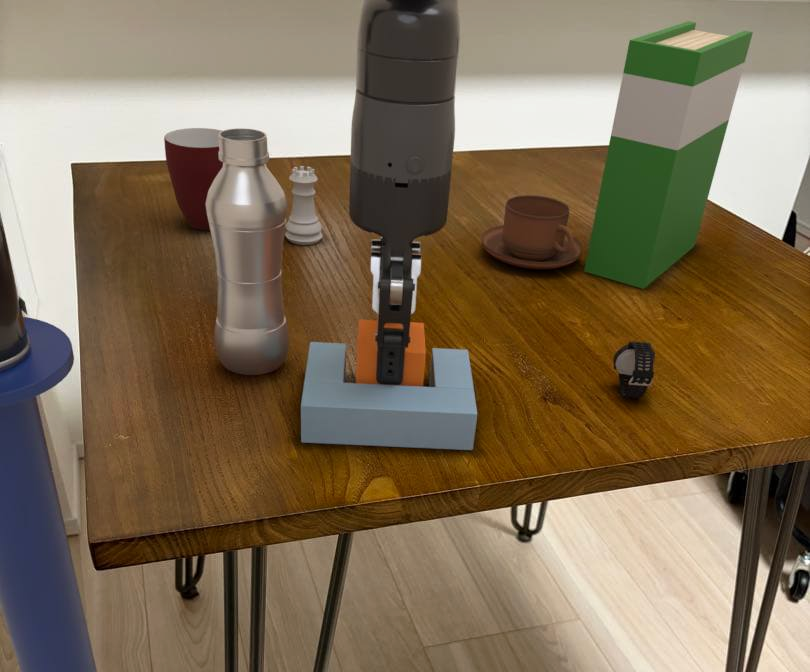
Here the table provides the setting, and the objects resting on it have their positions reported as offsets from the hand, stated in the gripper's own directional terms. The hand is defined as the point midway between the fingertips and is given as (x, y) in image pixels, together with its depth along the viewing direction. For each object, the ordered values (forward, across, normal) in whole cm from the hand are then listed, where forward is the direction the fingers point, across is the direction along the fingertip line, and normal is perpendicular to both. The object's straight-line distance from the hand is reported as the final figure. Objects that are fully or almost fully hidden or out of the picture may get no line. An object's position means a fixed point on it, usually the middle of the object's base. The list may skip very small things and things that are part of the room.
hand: (389, 364), depth 77 cm
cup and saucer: (+4, -35, +17) cm, 39 cm away
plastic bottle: (+4, -5, -12) cm, 14 cm away
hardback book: (+4, -37, +31) cm, 48 cm away
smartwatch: (+4, -3, +22) cm, 23 cm away
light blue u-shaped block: (+3, +2, 0) cm, 4 cm away
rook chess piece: (+4, -37, -10) cm, 39 cm away
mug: (+4, -41, -22) cm, 47 cm away
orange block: (+1, 0, 0) cm, 1 cm away
